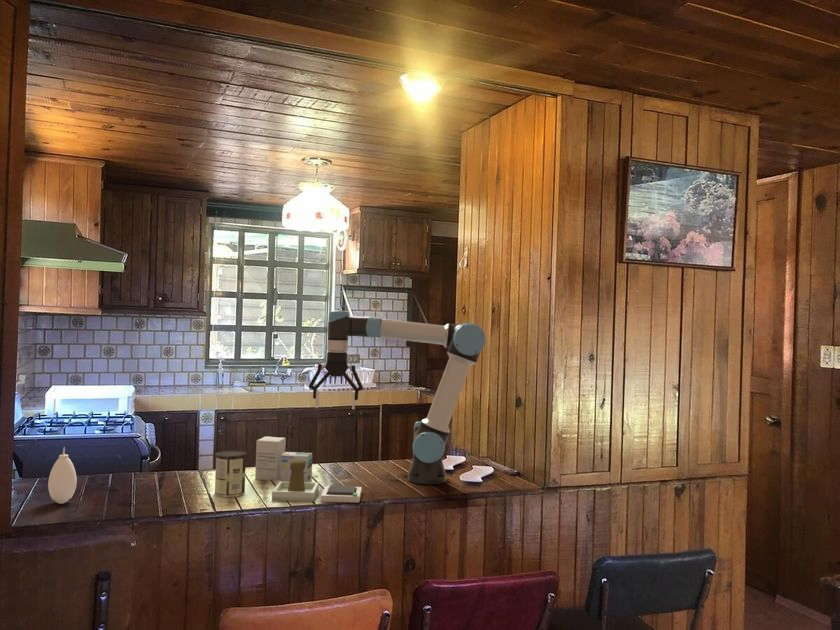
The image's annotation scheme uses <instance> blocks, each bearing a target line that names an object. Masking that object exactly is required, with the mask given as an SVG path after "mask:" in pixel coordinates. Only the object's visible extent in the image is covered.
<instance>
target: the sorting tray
mask: <svg viewBox="0 0 840 630" xmlns="http://www.w3.org/2000/svg"><path fill="white" fill-rule="evenodd" d="M319 484H320V483H319V482H312V481H310V482H304V485H305V492H298V491H288V488H289V482H282V481H280V480H279V482H278V483H277V484H276V485H275V487H274V488H273V490H272V492H271V501H277V502H280V501H283V502H285V501H286V502H311V503H312V502H314V501H315V499H316V497H317V495H318V493H319V489H320V488H319V486H320V485H319Z"/></svg>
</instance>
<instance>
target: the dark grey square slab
mask: <svg viewBox="0 0 840 630" xmlns="http://www.w3.org/2000/svg"><path fill="white" fill-rule="evenodd" d="M329 486H330V488H329V490H328V495H353V493H355V491H356V487H357V485H338V484H337V485H334V484H330V485H329Z"/></svg>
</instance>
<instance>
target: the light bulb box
mask: <svg viewBox="0 0 840 630" xmlns="http://www.w3.org/2000/svg"><path fill="white" fill-rule="evenodd" d="M293 461H303V462H304V463H305V469H304V470H303V474H304V482H312V481H313V475H312V474H313V452H294V451H285V453H284V454H282V455H281V473H280V479H279V482H280V481H282V482H290V476H291V469H290V464H291V462H293Z"/></svg>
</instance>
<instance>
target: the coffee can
mask: <svg viewBox="0 0 840 630" xmlns="http://www.w3.org/2000/svg"><path fill="white" fill-rule="evenodd" d="M246 462H247V452H246V451H243V450H222V451H217V452H216V453H215V475H214V476H215V477H214V479H215V481H214V496H215V497H219V498H236V497H241V496H243V495H245V493H246V491H245V490H246V466H247V465H246V464H247V463H246Z"/></svg>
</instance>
